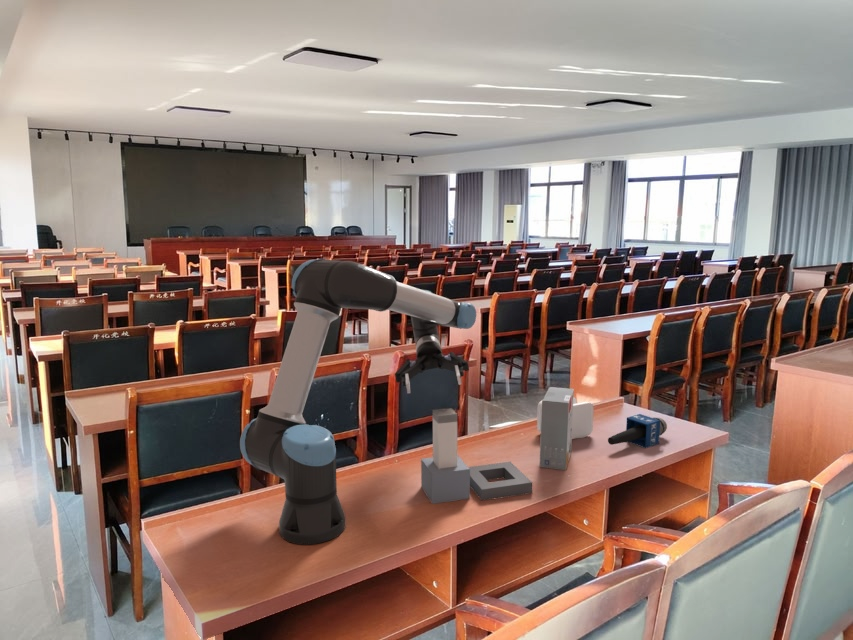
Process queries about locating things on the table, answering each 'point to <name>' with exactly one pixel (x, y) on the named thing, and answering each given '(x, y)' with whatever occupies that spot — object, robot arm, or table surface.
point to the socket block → (490, 490)
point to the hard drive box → (556, 428)
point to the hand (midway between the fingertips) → (433, 384)
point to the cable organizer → (575, 418)
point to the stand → (445, 481)
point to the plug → (445, 438)
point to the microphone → (641, 431)
